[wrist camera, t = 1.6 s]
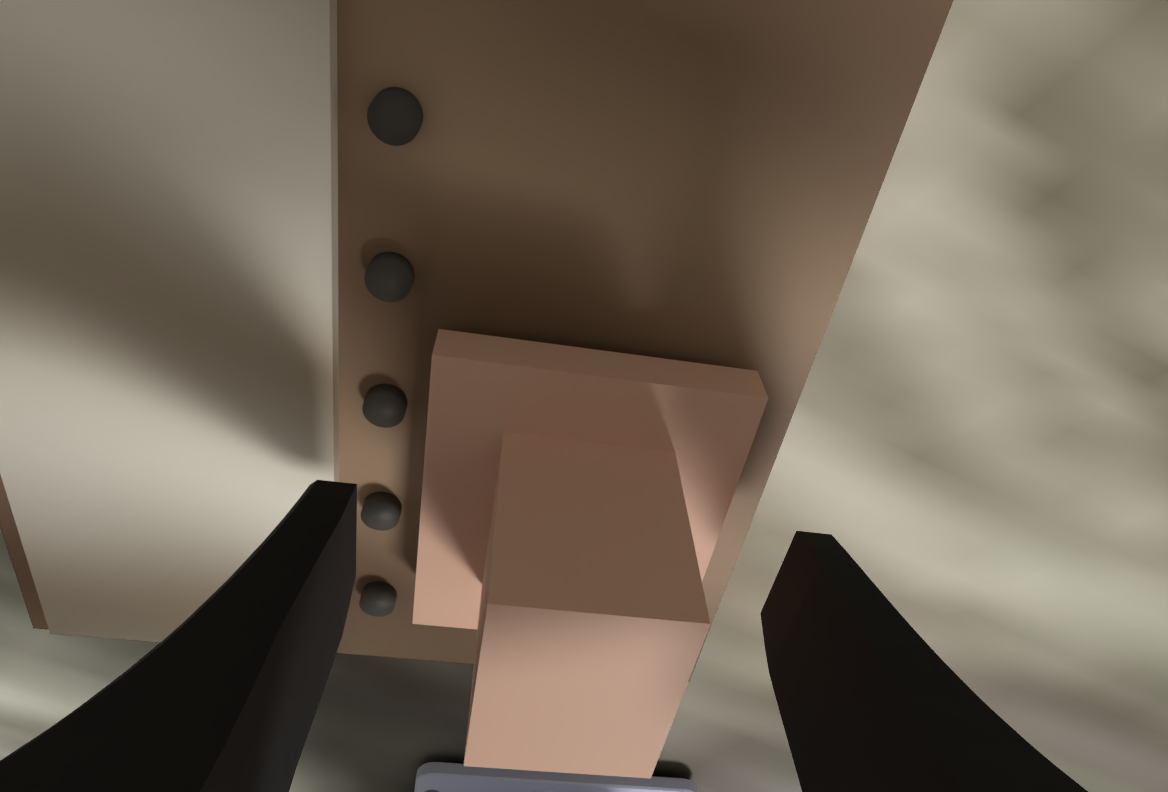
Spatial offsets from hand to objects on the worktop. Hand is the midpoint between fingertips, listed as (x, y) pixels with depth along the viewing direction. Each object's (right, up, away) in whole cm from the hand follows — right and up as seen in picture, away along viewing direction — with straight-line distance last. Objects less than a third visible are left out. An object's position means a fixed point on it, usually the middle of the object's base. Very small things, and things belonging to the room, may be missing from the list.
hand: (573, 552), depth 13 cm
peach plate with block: (0, +1, +1) cm, 2 cm away
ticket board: (-3, +4, +1) cm, 5 cm away
